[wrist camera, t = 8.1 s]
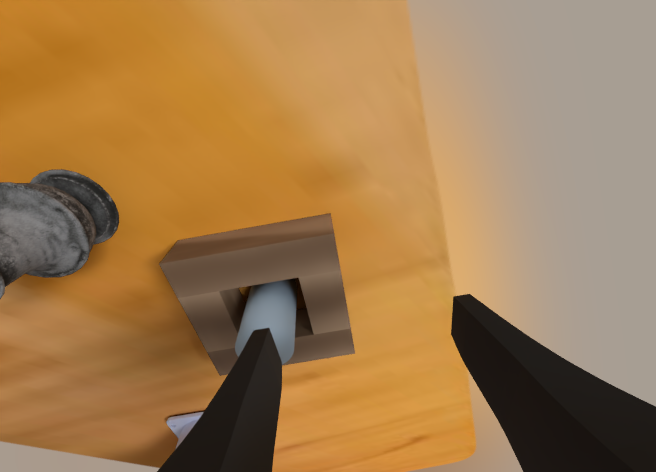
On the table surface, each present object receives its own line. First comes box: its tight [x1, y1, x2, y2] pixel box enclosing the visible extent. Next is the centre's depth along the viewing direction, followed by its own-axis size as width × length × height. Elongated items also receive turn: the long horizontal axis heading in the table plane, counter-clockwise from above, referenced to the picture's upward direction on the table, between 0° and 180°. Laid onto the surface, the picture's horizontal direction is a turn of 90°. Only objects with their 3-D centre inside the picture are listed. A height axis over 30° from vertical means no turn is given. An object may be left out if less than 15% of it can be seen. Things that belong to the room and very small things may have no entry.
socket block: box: [159, 213, 355, 376], centre depth 22 cm, size 11×11×3 cm
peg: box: [235, 278, 297, 365], centre depth 20 cm, size 4×4×6 cm
